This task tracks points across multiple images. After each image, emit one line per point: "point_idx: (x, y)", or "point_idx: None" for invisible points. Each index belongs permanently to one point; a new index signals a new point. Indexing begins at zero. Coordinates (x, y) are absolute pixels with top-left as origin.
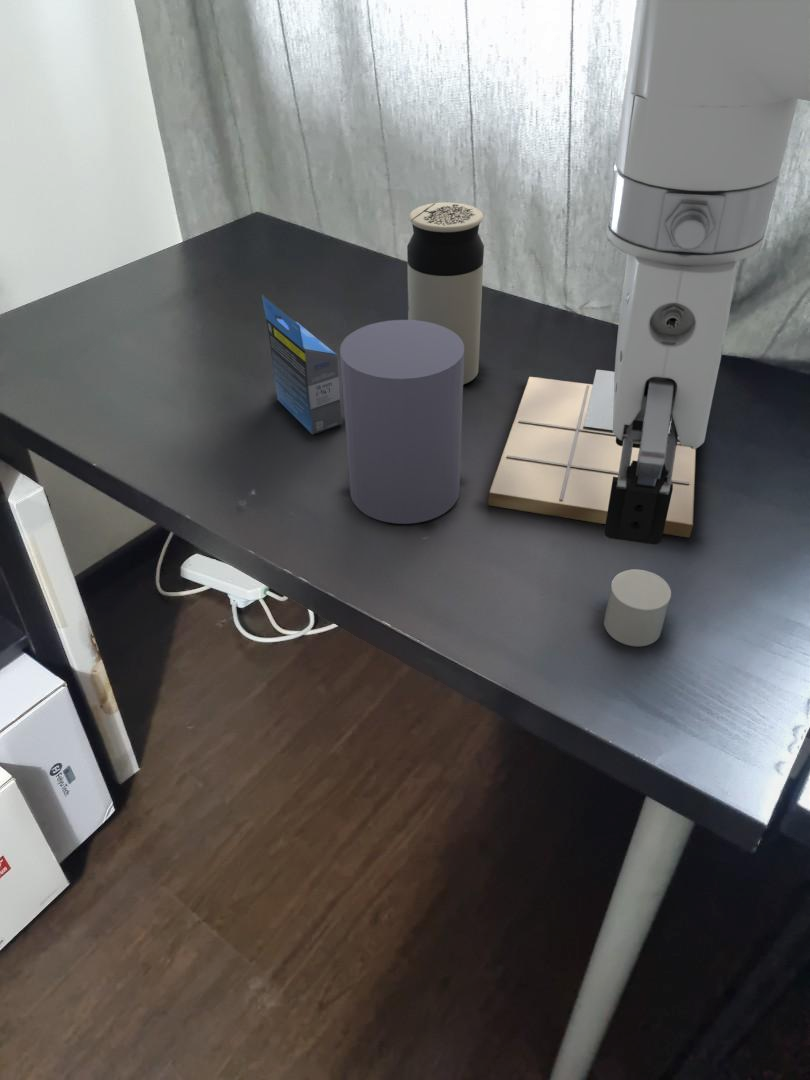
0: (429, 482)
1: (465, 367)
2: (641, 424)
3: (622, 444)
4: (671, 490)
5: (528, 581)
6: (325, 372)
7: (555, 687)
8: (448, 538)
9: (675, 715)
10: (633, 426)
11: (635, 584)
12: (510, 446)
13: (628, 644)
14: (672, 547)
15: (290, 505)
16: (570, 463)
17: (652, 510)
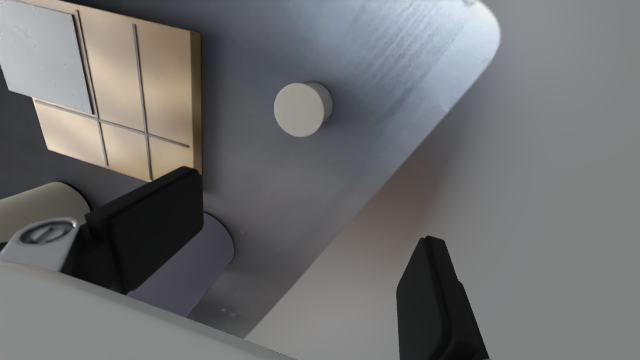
0: (206, 250)
1: (62, 199)
2: (171, 228)
3: (201, 223)
4: (479, 345)
5: (272, 174)
6: None
7: (372, 170)
8: (239, 219)
9: (403, 86)
10: (176, 235)
11: (293, 115)
12: (138, 175)
13: (331, 112)
14: (215, 52)
15: (229, 295)
16: (143, 132)
17: (479, 334)
